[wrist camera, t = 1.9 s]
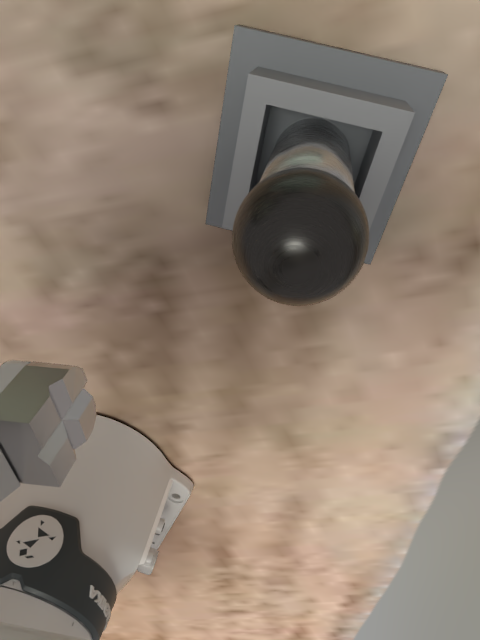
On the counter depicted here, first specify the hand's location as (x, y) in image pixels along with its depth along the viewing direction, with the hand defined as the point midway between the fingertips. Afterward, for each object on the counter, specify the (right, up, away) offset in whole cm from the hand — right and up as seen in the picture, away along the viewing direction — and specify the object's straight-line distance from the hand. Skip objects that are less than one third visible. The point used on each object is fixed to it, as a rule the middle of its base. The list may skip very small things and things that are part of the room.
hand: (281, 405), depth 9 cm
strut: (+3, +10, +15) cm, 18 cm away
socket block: (+3, +11, +16) cm, 19 cm away
